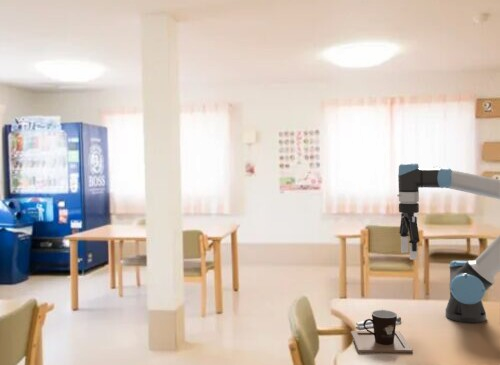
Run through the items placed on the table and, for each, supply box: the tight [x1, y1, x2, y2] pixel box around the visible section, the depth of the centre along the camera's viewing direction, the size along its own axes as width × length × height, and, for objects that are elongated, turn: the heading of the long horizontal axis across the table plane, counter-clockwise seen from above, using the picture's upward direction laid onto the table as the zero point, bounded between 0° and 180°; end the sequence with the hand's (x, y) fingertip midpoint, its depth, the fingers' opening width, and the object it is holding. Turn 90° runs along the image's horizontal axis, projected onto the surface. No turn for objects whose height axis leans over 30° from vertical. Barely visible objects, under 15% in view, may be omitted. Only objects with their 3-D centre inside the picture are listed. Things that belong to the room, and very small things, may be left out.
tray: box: [350, 330, 414, 355], centre depth 170 cm, size 18×18×1 cm
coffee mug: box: [363, 309, 398, 345], centre depth 170 cm, size 12×9×10 cm
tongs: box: [355, 316, 402, 330], centre depth 189 cm, size 19×5×2 cm, turn 106°
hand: (409, 255), depth 190 cm, fingers open, 13 cm apart
